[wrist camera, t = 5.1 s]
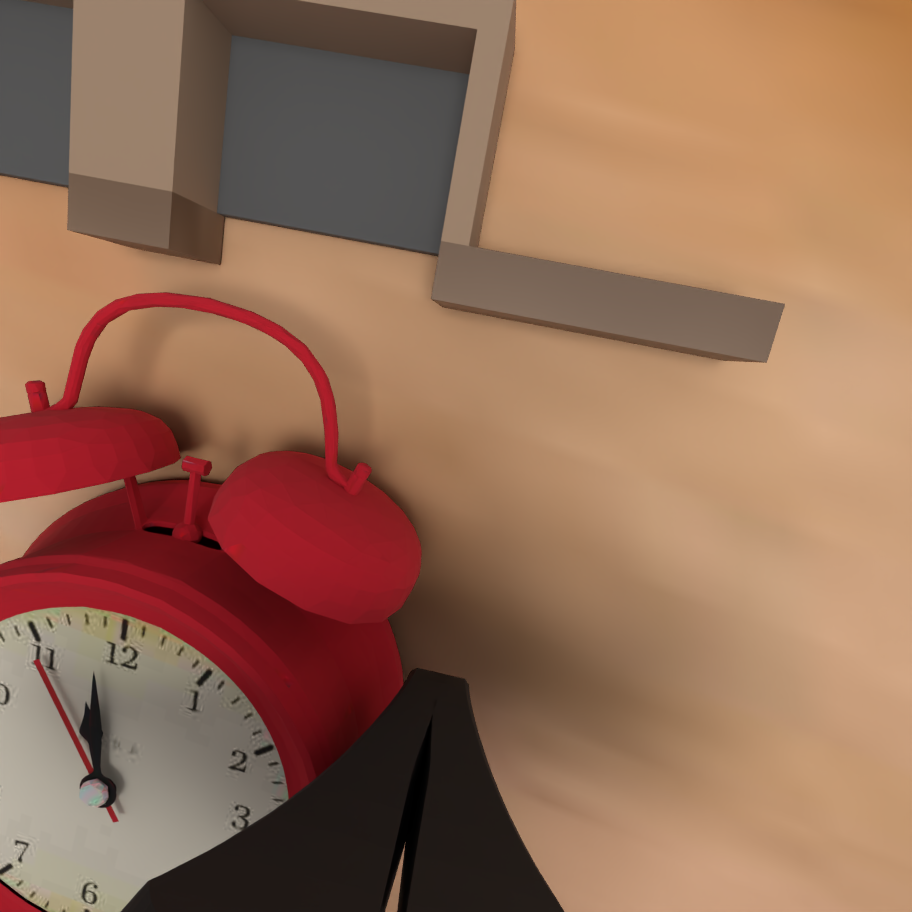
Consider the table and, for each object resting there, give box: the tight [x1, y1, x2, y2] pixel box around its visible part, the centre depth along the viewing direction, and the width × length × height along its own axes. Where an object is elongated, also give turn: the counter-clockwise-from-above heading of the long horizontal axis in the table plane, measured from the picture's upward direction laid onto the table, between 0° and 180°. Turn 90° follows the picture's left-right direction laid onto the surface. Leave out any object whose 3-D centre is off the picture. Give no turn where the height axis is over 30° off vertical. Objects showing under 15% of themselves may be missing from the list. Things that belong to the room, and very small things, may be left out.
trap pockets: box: [0, 0, 516, 256], centre depth 10 cm, size 4×13×2 cm, turn 79°
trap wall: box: [67, 173, 785, 363], centre depth 12 cm, size 19×21×2 cm
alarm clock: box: [0, 292, 421, 912], centre depth 11 cm, size 10×6×15 cm
